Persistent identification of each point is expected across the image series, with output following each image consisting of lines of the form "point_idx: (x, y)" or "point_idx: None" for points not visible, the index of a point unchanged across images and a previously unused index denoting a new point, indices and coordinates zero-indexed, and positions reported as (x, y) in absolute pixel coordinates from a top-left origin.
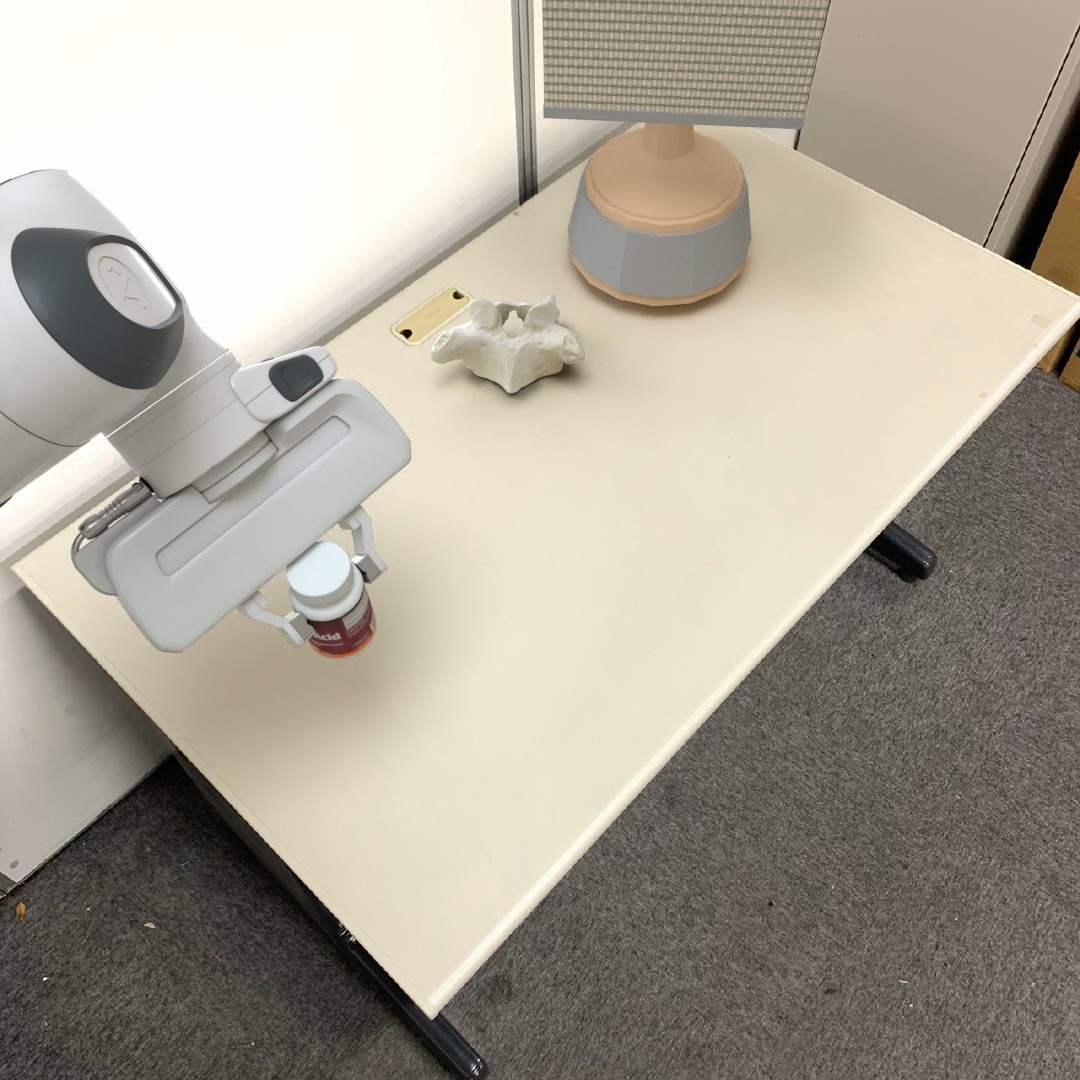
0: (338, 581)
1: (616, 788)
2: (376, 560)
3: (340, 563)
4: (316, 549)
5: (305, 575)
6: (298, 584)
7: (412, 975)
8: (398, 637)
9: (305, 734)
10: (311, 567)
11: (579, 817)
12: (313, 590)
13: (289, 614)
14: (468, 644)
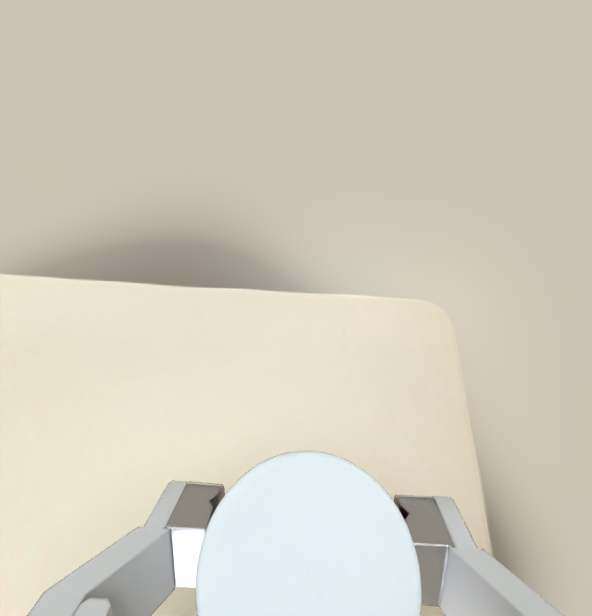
0: (302, 464)
1: (236, 293)
2: (169, 501)
3: (249, 511)
4: None
5: (357, 584)
6: (397, 577)
7: (446, 319)
8: None
9: None
10: (321, 593)
11: (272, 300)
12: (376, 507)
13: (422, 591)
14: None
